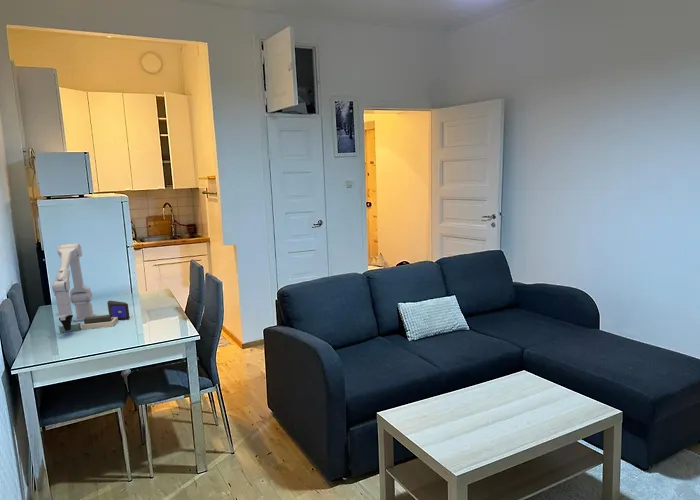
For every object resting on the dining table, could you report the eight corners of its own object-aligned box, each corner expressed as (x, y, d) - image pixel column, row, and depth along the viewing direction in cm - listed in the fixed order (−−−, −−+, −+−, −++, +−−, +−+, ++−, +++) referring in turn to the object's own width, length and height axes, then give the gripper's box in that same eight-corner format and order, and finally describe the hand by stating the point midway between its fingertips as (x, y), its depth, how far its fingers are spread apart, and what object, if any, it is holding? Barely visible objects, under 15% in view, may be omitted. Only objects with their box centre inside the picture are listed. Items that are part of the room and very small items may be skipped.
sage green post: (59, 332, 244) (58, 327, 243) (60, 332, 245) (59, 326, 244) (81, 329, 247) (80, 323, 247) (81, 328, 248) (80, 323, 248)
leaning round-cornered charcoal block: (104, 318, 267) (102, 301, 265) (112, 316, 271) (109, 299, 269) (123, 321, 259) (120, 304, 257) (130, 319, 262) (128, 302, 261)
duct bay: (88, 324, 256) (87, 319, 256) (118, 321, 259) (117, 316, 259) (82, 329, 248) (81, 325, 247) (113, 326, 250) (112, 321, 250)
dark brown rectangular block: (87, 326, 254) (85, 317, 253) (111, 323, 257) (110, 314, 256) (85, 328, 250) (83, 319, 249) (110, 325, 253) (109, 316, 252)
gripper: (57, 301, 245) (61, 327, 247) (51, 309, 231) (55, 336, 233) (73, 299, 247) (77, 325, 249) (68, 306, 234) (72, 333, 236)
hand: (68, 330), depth 242 cm, fingers closed
